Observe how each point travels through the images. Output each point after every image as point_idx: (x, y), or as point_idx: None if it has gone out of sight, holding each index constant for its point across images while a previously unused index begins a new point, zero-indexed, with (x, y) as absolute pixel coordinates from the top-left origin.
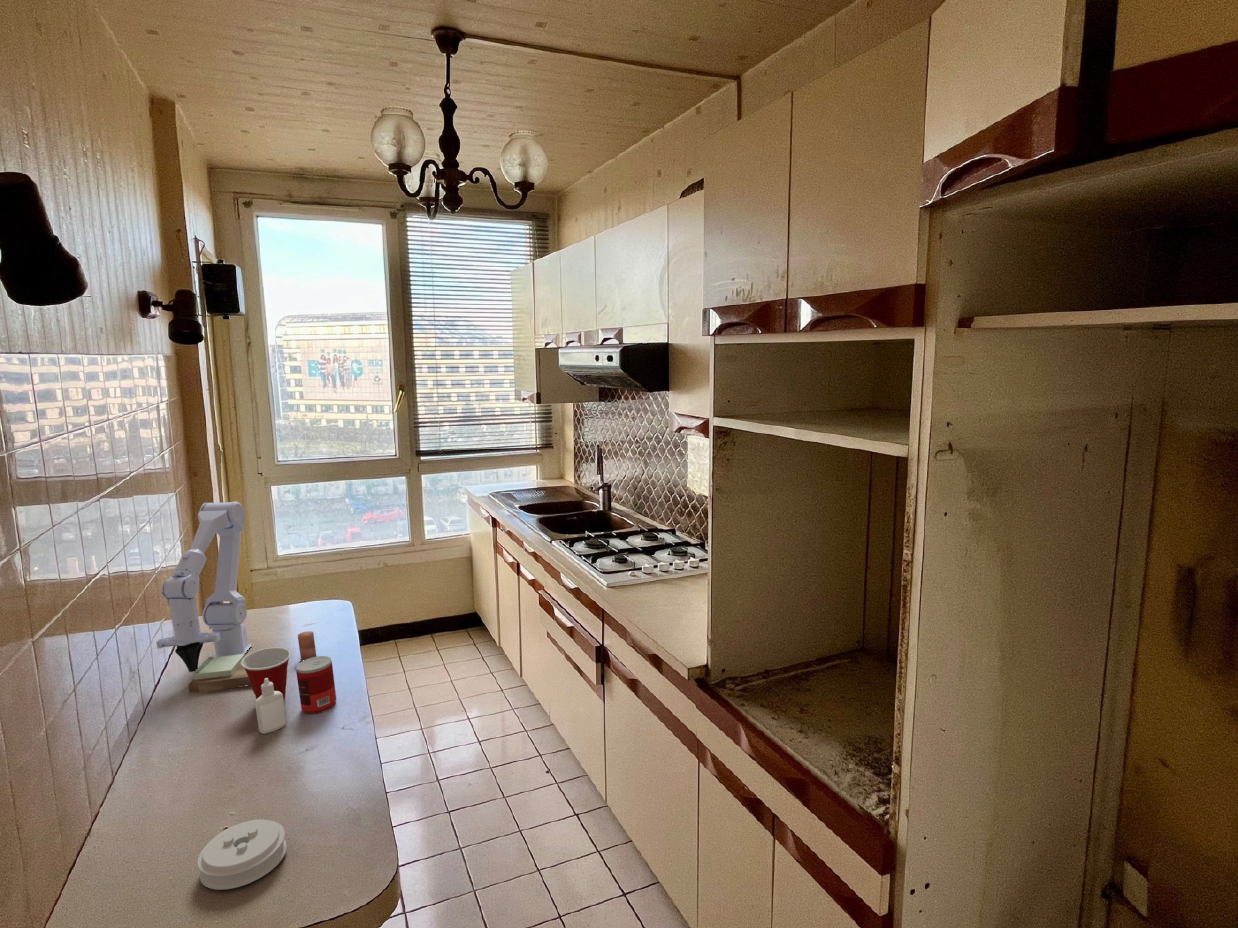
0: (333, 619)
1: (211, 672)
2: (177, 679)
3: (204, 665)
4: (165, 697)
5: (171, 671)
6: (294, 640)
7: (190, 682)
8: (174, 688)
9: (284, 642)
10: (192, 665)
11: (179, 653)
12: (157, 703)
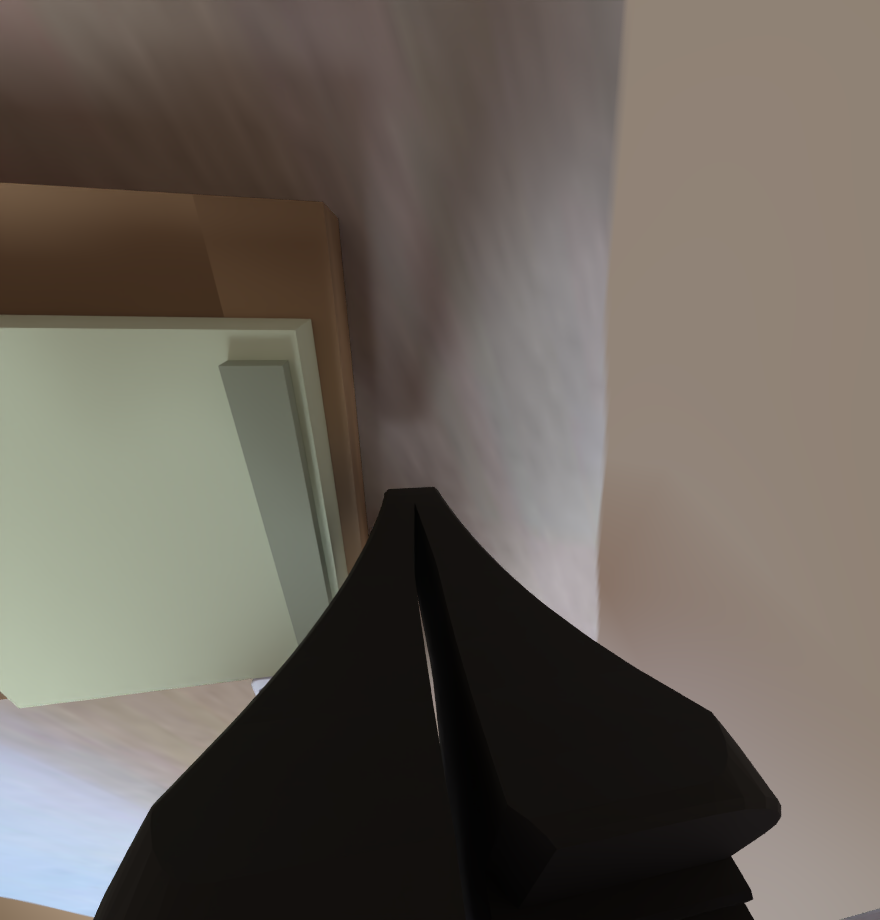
0: (59, 887)
1: (6, 329)
2: (536, 508)
3: (265, 530)
4: (548, 190)
5: (589, 594)
6: (86, 793)
7: (318, 247)
8: (518, 375)
9: (130, 780)
10: (390, 523)
11: (612, 695)
12: (596, 24)
